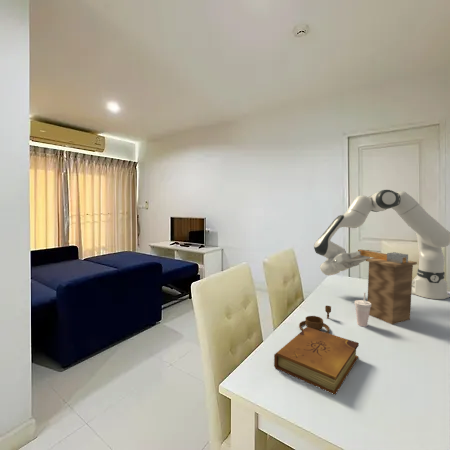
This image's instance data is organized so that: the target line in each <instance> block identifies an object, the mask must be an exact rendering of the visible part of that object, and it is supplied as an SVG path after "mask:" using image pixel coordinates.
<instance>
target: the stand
mask: <svg viewBox="0 0 450 450" xmlns="http://www.w3.org/2000/svg"><path fill="white" fill-rule="evenodd" d="M365 262H367V263H368V276H367V277H368V280H367V301H368V302H370V303H371V307H370V312H369V317H370V316H371V317H373V318H375V319H378V320H380V321H383V322H386V323H388V324H390V325H392V326H393V325H396V324H400V323H403V322H406V321H410V320H411V309H412V294H411V290H412V285H413V284H412V280H413V269H414V268H413V267H414V266H416V265H418V262H417V261H412V260H408V263H402V264H399V263H394V262H389V261H387V260H382V259H377V258H372V257H370V258H369V259H366V260H365Z"/></svg>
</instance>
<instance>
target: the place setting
mask: <svg viewBox="0 0 450 450" xmlns="http://www.w3.org/2000/svg"><path fill="white" fill-rule="evenodd" d="M324 309H325V310H324V311H325V313H326V320H327V319H330V313H331V312H332V306H331V305H325V307H324ZM304 325H305V326H306V327H309V328H312V329H316V330H319V331H321V330H322V329H323V328H324V327H325V328H324V329H326V331H324V332H325V333H329V334H330V331H331V328H330V326H329V325H328V324H326V323H324V319H323V318H322V317H320V316H316V315H308V316H305V320H303V321H301V322H299V324H298V328H299V329H300V331H301V332H302V331H303V330H304V329H305V328H302V327H303V326H304Z"/></svg>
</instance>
